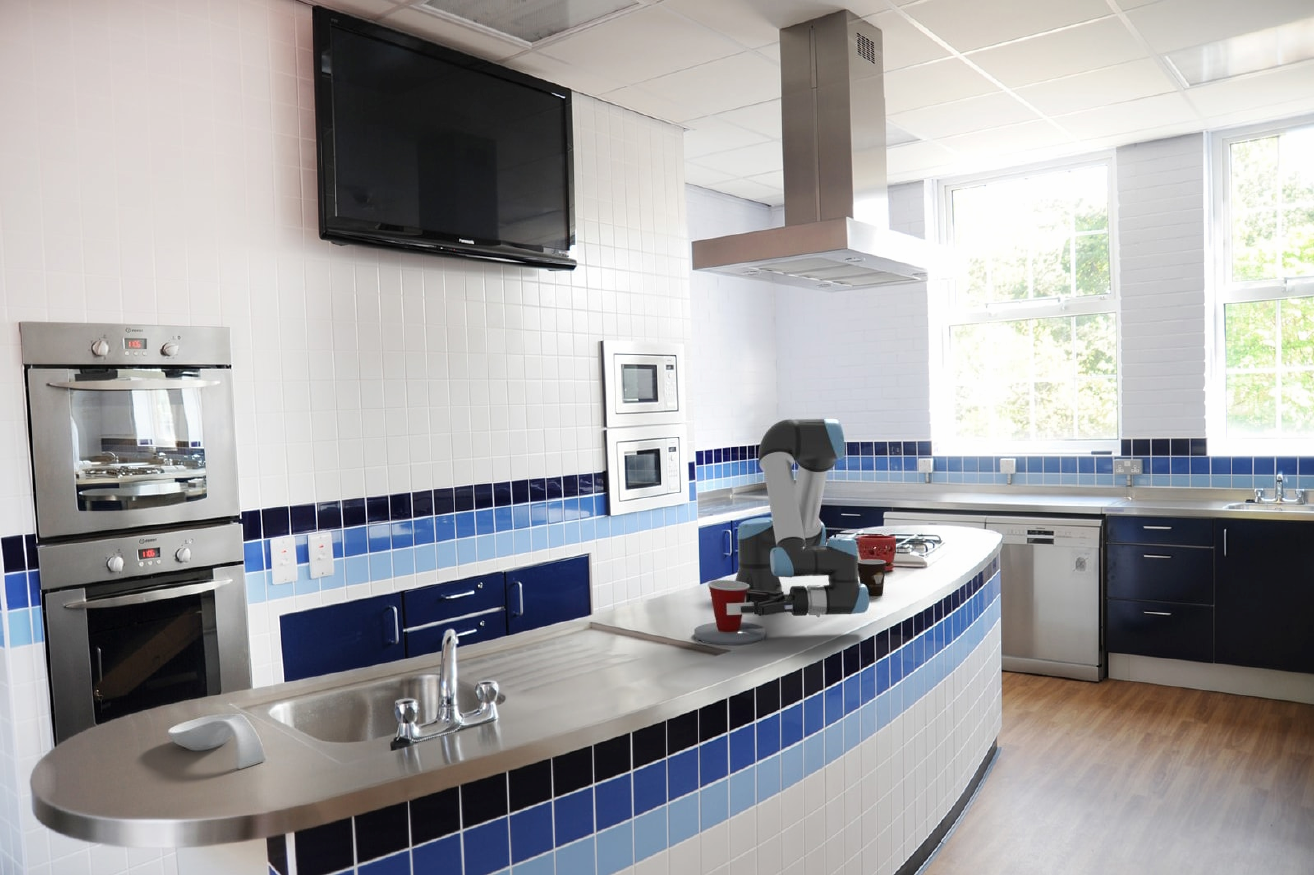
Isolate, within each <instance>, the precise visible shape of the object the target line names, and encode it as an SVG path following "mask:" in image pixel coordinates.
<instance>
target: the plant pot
mask: <svg viewBox="0 0 1314 875" xmlns="http://www.w3.org/2000/svg"><path fill="white" fill-rule="evenodd" d="M896 550H897V539H896V536H892V535H886V534H885V535H881V534H876V535H875V534H873V535H872V534H870V535H859V536H858V537H857V551H858V556H859V558H860V560H867V559H874V560H883V561H886V566H885V572H888V571H892V570H893V569H894V568H895V564H894V563H893V561H894V559H895V556H896Z"/></svg>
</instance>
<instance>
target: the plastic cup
mask: <svg viewBox="0 0 1314 875" xmlns="http://www.w3.org/2000/svg"><path fill="white" fill-rule="evenodd" d="M707 587H708V588H709V593H710V597H711V603H712V609H713V614H714V620H715V623H716V625H717V628H718V630H719V631H723V632H734V631H738V630H740V626H741V622H742V618H743V614H741V615H727V603H744V601H745V597H746V593H747V590H748V588H749V587H750V586H749V584H746V583H743V582H739V581H735V580H731V579H730V580H727V579H715V580H709V581H708V582H707Z"/></svg>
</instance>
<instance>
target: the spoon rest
mask: <svg viewBox="0 0 1314 875" xmlns="http://www.w3.org/2000/svg"><path fill="white" fill-rule="evenodd" d="M167 736H168V737H169V739H170V740H171V741H172V742H174V743H175V744H177V745H179V746H181V747H184V748H186V749H187V750H190V751H206V750H211V749H216V748H218V747H220V746H222V745H224V744H225V743H226V742H227V741H228V740H229V739H230V738H232V737H233V736H234V738H235V743H236V761H237V763H236V764H237V769H239V770H241V769H245V768H248V767H250V766H254V765H257V764H261V763H263V762H265V761H266V760H267V757H266V751H265V749H264V745H263V743H262V740H261V738H260V736H259V734H258V732H257V731H256V729H255V727H254V726H253V724H252V723H251V722H250V721H249V720H248V718H247V717H246V716H245V715H243V714H242V713H238V714H236V713H220V714H213V715H207V716H202V717H199V718H195V719H192V720H188V721H184V722H181V723H178V724H176V725H174V726H172V727H170V728H169V729H168V730H167Z"/></svg>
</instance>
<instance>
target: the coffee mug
mask: <svg viewBox="0 0 1314 875" xmlns="http://www.w3.org/2000/svg"><path fill="white" fill-rule="evenodd" d="M885 566H886V561H883V560H874V559H867V560H861V559H858V580H859V583H860V584H864V585H866V587H867V589H868V595H869V597H878V596H879V597H880V596H883V595H884V584H885V575H886V574H885V573H886V571H885ZM882 594H883V595H882Z"/></svg>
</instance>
